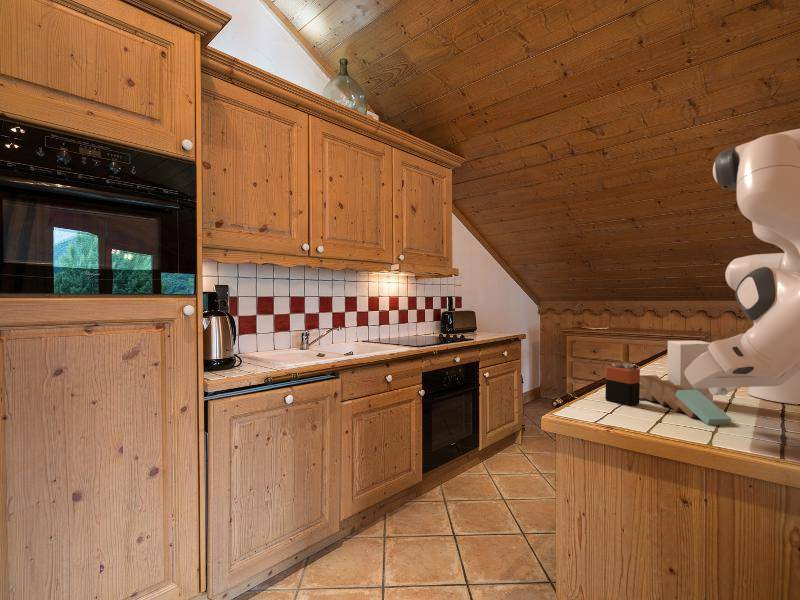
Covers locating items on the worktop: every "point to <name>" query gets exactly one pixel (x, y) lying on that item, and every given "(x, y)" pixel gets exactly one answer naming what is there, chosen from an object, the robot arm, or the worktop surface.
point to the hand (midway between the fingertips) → (716, 392)
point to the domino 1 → (646, 393)
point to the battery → (622, 384)
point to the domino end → (703, 407)
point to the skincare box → (685, 362)
